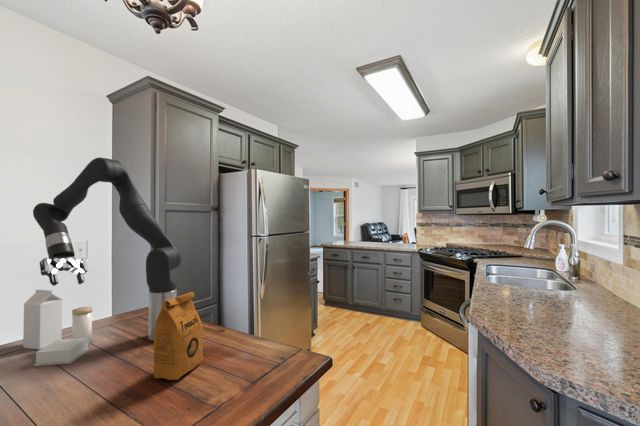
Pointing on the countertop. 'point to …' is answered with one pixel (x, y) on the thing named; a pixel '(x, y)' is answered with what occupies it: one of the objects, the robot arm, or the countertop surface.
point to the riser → (61, 352)
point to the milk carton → (42, 320)
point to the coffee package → (177, 338)
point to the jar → (82, 323)
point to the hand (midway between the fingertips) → (69, 283)
